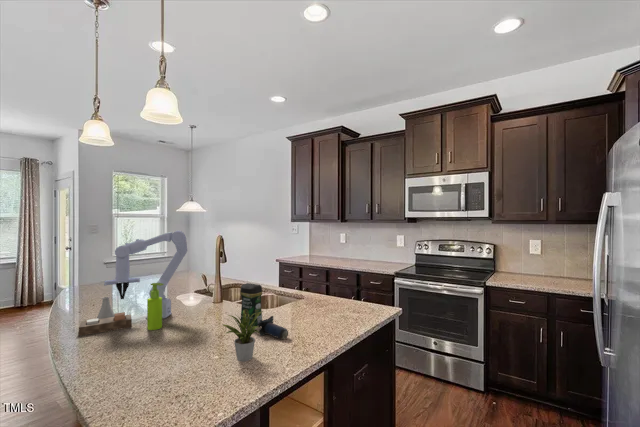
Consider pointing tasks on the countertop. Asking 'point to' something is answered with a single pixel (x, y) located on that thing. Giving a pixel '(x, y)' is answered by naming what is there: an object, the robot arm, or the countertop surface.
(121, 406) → the countertop surface
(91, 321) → the white cube
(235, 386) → the countertop surface
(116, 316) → the salmon pink cube
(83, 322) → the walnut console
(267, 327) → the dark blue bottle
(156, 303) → the soap dispenser
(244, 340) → the house plant
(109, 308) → the flask
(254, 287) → the coffee jar
